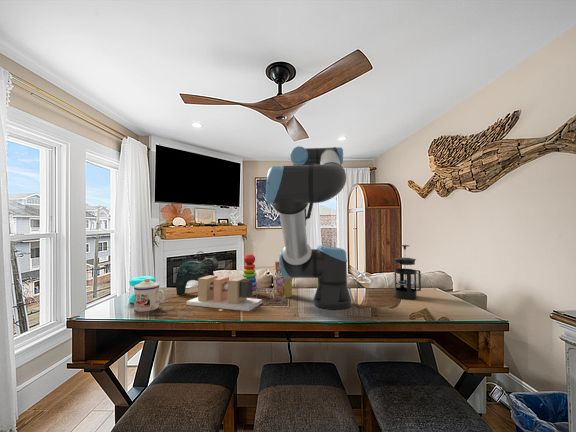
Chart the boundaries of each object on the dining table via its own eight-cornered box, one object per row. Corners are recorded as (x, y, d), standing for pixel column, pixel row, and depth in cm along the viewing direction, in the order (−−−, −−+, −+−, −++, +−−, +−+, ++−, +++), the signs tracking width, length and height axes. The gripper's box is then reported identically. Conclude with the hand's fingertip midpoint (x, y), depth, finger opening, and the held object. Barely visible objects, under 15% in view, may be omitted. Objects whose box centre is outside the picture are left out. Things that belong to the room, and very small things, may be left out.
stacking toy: (254, 296, 132) (254, 255, 133) (237, 296, 134) (237, 254, 134) (259, 292, 140) (259, 253, 140) (243, 292, 141) (243, 253, 142)
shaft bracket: (262, 303, 121) (261, 277, 122) (248, 311, 110) (248, 283, 110) (204, 297, 131) (204, 274, 131) (186, 304, 119) (186, 278, 120)
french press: (396, 299, 126) (395, 245, 126) (390, 294, 135) (389, 244, 136) (424, 299, 125) (423, 245, 126) (416, 294, 134) (415, 244, 135)
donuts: (139, 275, 132) (160, 275, 130) (139, 297, 131) (160, 298, 130) (123, 279, 122) (145, 280, 120) (123, 303, 121) (145, 304, 120)
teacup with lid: (128, 311, 110) (128, 280, 111) (143, 305, 119) (143, 276, 120) (157, 312, 109) (157, 281, 109) (170, 306, 118) (171, 276, 118)
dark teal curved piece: (219, 293, 140) (219, 250, 140) (213, 296, 133) (213, 252, 134) (180, 291, 143) (180, 250, 143) (172, 295, 136) (173, 251, 137)
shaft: (252, 294, 119) (252, 279, 119) (246, 297, 114) (246, 282, 115) (207, 291, 126) (207, 277, 126) (200, 293, 121) (200, 279, 122)
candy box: (274, 294, 137) (274, 261, 138) (283, 292, 139) (282, 260, 140) (283, 298, 129) (283, 263, 130) (292, 297, 131) (292, 262, 132)
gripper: (316, 183, 138) (317, 233, 137) (290, 184, 141) (290, 233, 141) (313, 181, 131) (314, 234, 130) (285, 182, 134) (286, 234, 134)
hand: (301, 234), depth 135 cm, fingers closed
